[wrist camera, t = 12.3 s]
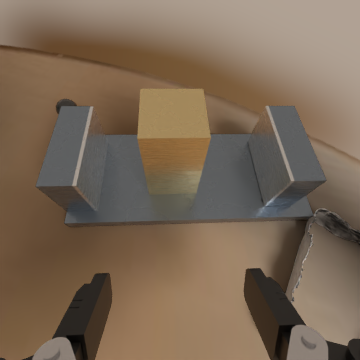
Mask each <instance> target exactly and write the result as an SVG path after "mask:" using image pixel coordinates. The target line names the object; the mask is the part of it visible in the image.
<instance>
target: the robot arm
mask: <svg viewBox="0 0 360 360" xmlns="http://www.w3.org/2000/svg"><path fill="white" fill-rule="evenodd" d="M244 297H245V301H246V303H247V305H248V308H249V310H250V312H251V315H252V317H253V319H254V322H255V324H256V326H257V329H258V331H259V334H260V336H261V338H262V341H263V343H264V345H265V348H266V350H267V352H268V355H269V357H270V359H271V360H360V339H352V340H350V341H349V343H348V346H345V345H341V344H337V343H333V342H329V341H326V340H325V339H324V338H323V337H322V336H321V335H320V334H319V333H318V332H317V331H316V330H314V329H312V328H310V327H308V326H306V324H305V323H304V322H303V320H302V319H301V317H300V316H299V314H298V313H297V311H296V310H295V308H294V307H293V305H292V304H291V302H290V301H289V300H288V298H287V296H286V295H285V293H284V292H283V290H282V289H281V287H280V286H279V284H278V283H277V282H275V281H274V280H273V279H272V278H271V277H265V275H264V273H263V272H262V270H261V269H260V268H252V269H246V274H245V283H244ZM111 303H112V289H111V279H110V274H109V273H97V274H95V275H94V277H93V279H92V281H91V283H90V284H84V285H83V286H82V287H81V288H80V289H79V290H78V291H77V292H76V294H75V296H74V298H73V300H72V302H71V304H70V306H69V308H68V309H67V311H66V313H65V315H64V317H63V319H62V321H61V323H60V325H59V326H58V328H57V330H56V332H55V334H54V336H53V338H52V339H51V340H49V341H48V342H46V343H45V344H43V345H42V346H41V347H40V348H39V349H38V350H37V352H36V353H35V355H33V356H31V357H28V358H26V359H23V360H95V357H96V354H97V351H98V347H99V344H100V341H101V337H102V334H103V331H104V327H105V324H106V321H107V318H108V314H109V311H110V308H111ZM0 360H5V359H4V358H0Z"/></svg>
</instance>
